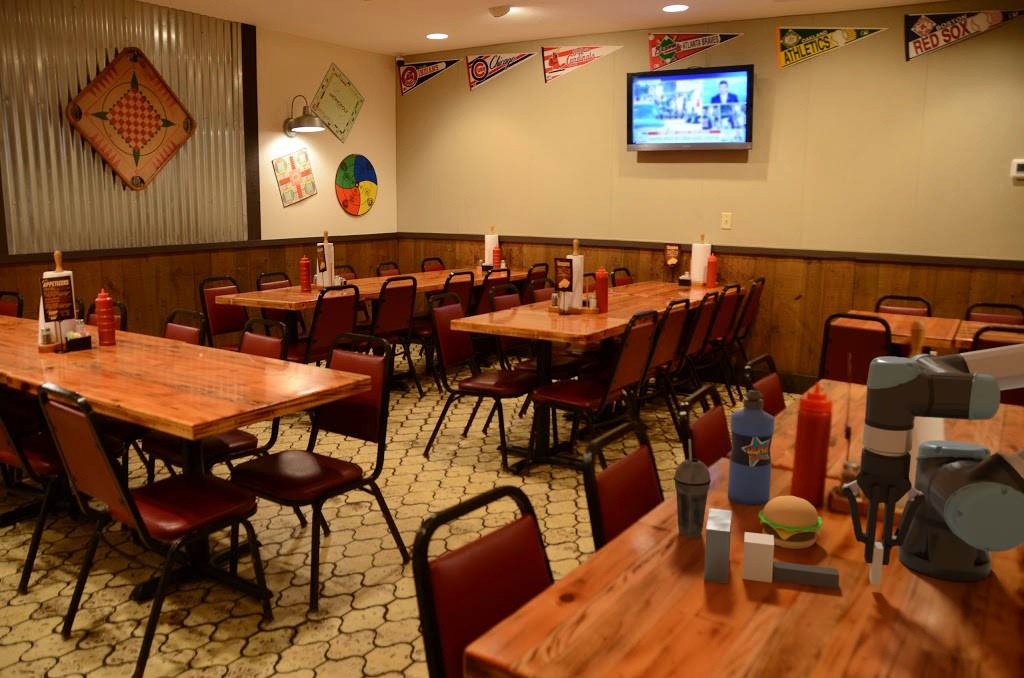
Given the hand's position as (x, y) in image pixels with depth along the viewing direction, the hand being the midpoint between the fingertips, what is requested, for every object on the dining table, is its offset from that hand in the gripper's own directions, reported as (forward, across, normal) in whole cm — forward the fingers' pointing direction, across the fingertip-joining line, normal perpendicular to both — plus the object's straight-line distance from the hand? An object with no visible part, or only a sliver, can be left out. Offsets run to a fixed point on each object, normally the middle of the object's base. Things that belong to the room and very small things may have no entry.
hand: (874, 580), depth 139 cm
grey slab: (+2, +26, 0) cm, 26 cm away
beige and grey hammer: (+2, +14, 0) cm, 14 cm away
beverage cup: (+2, +32, -15) cm, 36 cm away
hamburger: (+2, +13, -18) cm, 22 cm away
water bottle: (+2, +21, -39) cm, 44 cm away
